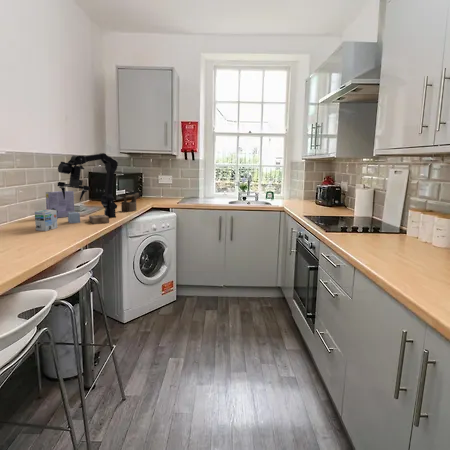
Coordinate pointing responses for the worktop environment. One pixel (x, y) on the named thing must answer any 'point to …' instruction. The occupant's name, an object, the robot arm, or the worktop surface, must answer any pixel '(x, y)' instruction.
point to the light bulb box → (46, 220)
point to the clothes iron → (129, 203)
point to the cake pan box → (60, 202)
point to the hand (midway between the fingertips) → (72, 199)
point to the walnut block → (98, 219)
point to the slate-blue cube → (74, 217)
